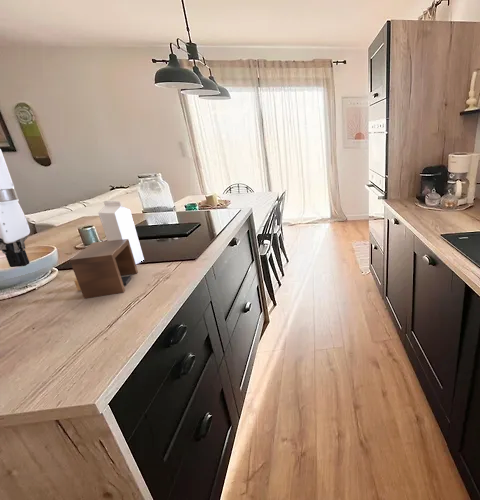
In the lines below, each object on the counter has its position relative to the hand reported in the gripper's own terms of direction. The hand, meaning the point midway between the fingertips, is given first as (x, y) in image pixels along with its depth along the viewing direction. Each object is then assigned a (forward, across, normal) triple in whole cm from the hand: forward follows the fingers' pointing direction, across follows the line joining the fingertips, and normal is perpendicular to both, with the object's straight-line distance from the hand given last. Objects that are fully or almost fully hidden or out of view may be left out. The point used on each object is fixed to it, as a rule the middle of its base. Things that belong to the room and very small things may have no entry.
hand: (20, 265), depth 76 cm
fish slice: (+9, 0, +16) cm, 19 cm away
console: (+8, 0, +19) cm, 20 cm away
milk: (+8, -17, +19) cm, 27 cm away
